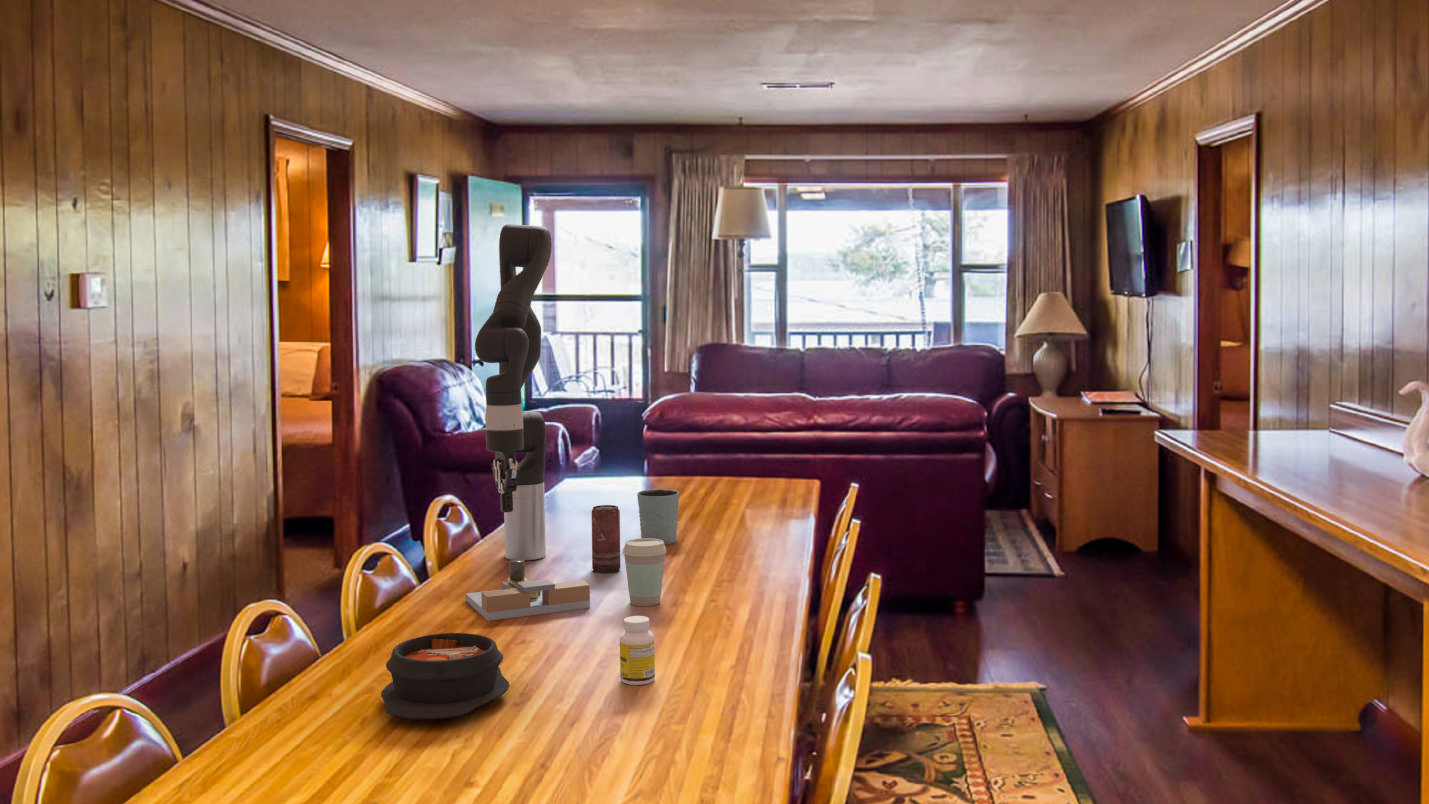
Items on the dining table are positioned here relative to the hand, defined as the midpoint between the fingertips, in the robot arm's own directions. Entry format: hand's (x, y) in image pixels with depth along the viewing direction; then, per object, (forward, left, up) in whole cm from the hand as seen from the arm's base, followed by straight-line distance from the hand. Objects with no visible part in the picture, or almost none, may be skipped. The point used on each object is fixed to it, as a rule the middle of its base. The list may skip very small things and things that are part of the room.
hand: (506, 511), depth 244 cm
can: (-6, +24, -16) cm, 29 cm away
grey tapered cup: (-29, +46, -16) cm, 57 cm away
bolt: (+11, 0, -14) cm, 18 cm away
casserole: (+62, -27, -16) cm, 69 cm away
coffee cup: (+23, +21, -16) cm, 35 cm away
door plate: (+14, 0, -16) cm, 21 cm away
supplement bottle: (+66, +2, -16) cm, 68 cm away
